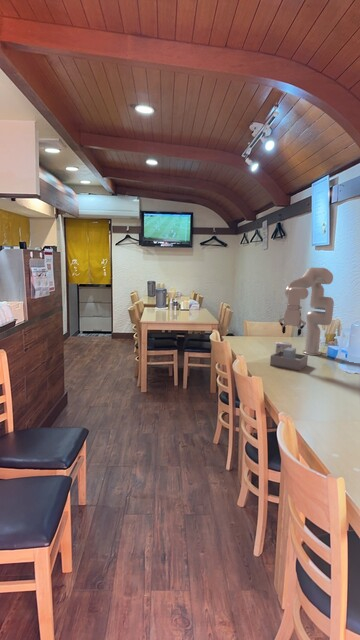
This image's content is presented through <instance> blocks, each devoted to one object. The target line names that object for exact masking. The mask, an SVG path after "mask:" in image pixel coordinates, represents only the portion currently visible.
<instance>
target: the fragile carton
mask: <svg viewBox="0 0 360 640" xmlns="http://www.w3.org/2000/svg"><path fill="white" fill-rule="evenodd" d="M296 354H297V348H295V347H292V348H290V347H288V348H286V349H284V352H283V357H284V358H289V359H295V355H296Z"/></svg>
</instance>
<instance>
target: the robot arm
mask: <svg viewBox="0 0 360 640" xmlns="http://www.w3.org/2000/svg"><path fill="white" fill-rule="evenodd" d="M333 282H334V275H333V273H332V272H331V271H330V270H329V269H328V268H325V267H309V268H307V269H306V271H305V272H304V274H303V275H302V277H299V278H298V279H295V280H293V281H291V282H290V283H289V284H288V286H287V287H286V288H285V291H284V295H285V297H286V298H287V303H286V305H287V306H286V309H285V311H284V317H283V318H281V319H278V323H279V325H280V326H281V332H282V334H285V333H286V331H287V330H286V328H287V326H293V327H297V328H298V329H297V336H298V337H299V336H300V335H301V334H302V329H303V328H305V326H306V333H305V334H306V335H305V345H304V350H302V354H303V355H307V356H320V355H321V353H322V352H321V351H320V350H319V349H320V342H321V341H320V339H321V329H320V326H330V325H331V324H332V321H333V313H334V306H335V305H334V304H335V303H334V299H333V298H332V297H331V296H325V294H324V293H325V288H324V287H323V286H324V285H331V284H332V283H333ZM309 288H311V289H310V290H311V293H310V303H309V305H310V306H309V307H310V308H311V309H313V310H310V311H308V312H307V313H306V316H305V318H306V321H304V320H303V319H302V310H301V309H302V308H303V306H301V304H300V303H301V300H305V299H307V298H308V296H309V290H308V289H309ZM320 310H321V311H320ZM301 324H302V325H301Z"/></svg>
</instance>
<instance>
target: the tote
mask: <svg viewBox="0 0 360 640" xmlns="http://www.w3.org/2000/svg"><path fill="white" fill-rule="evenodd" d="M308 358H309V355H308V354H301V353H296V355H295V359H289V358H284V357H283V351H279V352H277V353H275V352H274V353H273V354H271V355H270V360H269V366H271V367H277V368H282V369H286V370H291V371H296V372H300V371H301V370H303V369H304V368H305V367H307V366H308Z"/></svg>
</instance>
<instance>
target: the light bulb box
mask: <svg viewBox="0 0 360 640" xmlns="http://www.w3.org/2000/svg"><path fill="white" fill-rule="evenodd" d="M288 347H290V348H293V344H292V343H291V342H285V341H284V342H282V341H281V342H280V341H275V342H274V354H275V353H277V352H279V351H283V352H284V349H286V348H288Z"/></svg>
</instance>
